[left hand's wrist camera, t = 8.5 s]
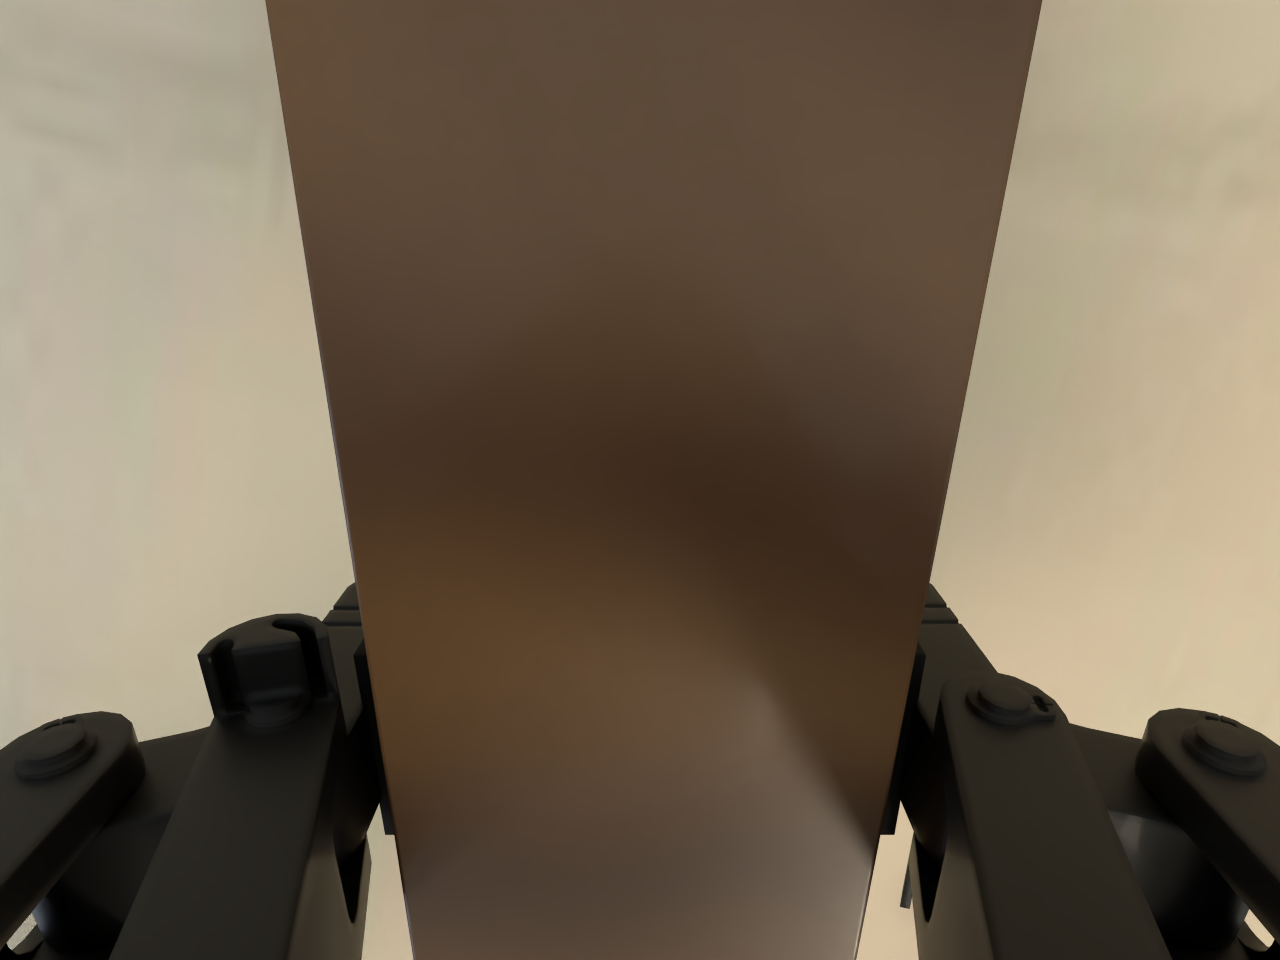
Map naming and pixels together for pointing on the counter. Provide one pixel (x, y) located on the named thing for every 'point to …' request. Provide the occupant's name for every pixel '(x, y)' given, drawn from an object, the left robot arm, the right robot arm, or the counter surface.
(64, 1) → the counter surface
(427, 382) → the beam
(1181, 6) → the counter surface
